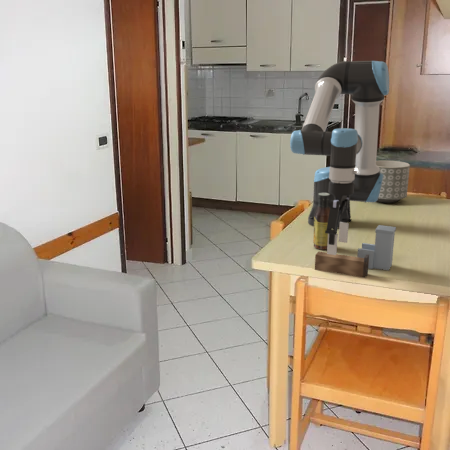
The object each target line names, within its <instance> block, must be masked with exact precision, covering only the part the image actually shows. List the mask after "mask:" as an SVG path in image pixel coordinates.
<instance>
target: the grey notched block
mask: <svg viewBox="0 0 450 450" xmlns="http://www.w3.org/2000/svg"><path fill="white" fill-rule="evenodd" d="M396 231H397V227H396V226H392V225H391V226H389V225H382V224H378V225H377V227H376V228H375V230H374V233H375V239H374V243H373V244H372V243H367V242H365V243H364V242H363V243H361V248H360V247H359V248H358V249H357V256H356V257H360V258H364V257H365V256H366V254H369V264H368V270H373V269H376V270H382V269H383V271H390V270H389V269H391V268H390V267H392V265H393V256H394V245H395V244H394V243H395V233H396Z"/></svg>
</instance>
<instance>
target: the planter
mask: <svg viewBox="0 0 450 450" xmlns="http://www.w3.org/2000/svg"><path fill="white" fill-rule="evenodd" d="M376 165H377V166H378V167H379V168H380V173H382V174H383V181H382V185H381V190H380V194H379V197H378V200H377V201H376V202H378V203H381V204H382V203H383V204H385V203H386V204H392V203H396V202H398V201H400V200H402V199H406V198H407V196H408V189H409V187H408V186H409V179H410V178H409V177H410V167H411V164H409V163H408V162H404V161H399V160H382V159H381V160H376Z"/></svg>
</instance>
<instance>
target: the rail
mask: <svg viewBox="0 0 450 450" xmlns="http://www.w3.org/2000/svg"><path fill="white" fill-rule="evenodd" d="M368 264H369V254H366V256H365V257H364V258H360V257H357V256H351V255H345V254H338V253H336V255H331V254H327V251H326V252H325V251H317V253H315V259H314V270H315V271H323V272H327V273H334V274H340V275H345V276H346V275H347V276H350V277H351V276H353V277H359V278H365V279H366V277H367V276H368V274H369V272H368V271H369V268H368Z"/></svg>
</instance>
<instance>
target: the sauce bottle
mask: <svg viewBox="0 0 450 450" xmlns="http://www.w3.org/2000/svg"><path fill="white" fill-rule="evenodd" d="M329 198H330V194H329V193H319V194H318V207H317V210H316V212H315V215H314V226H313V241H312V243H313V248H314V249H317V250H322V251H325V250H326V251H327V244H328V233H325V230H326V229H327V224H328V218H329V213H330V208H329ZM331 230H333V229H331Z"/></svg>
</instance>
